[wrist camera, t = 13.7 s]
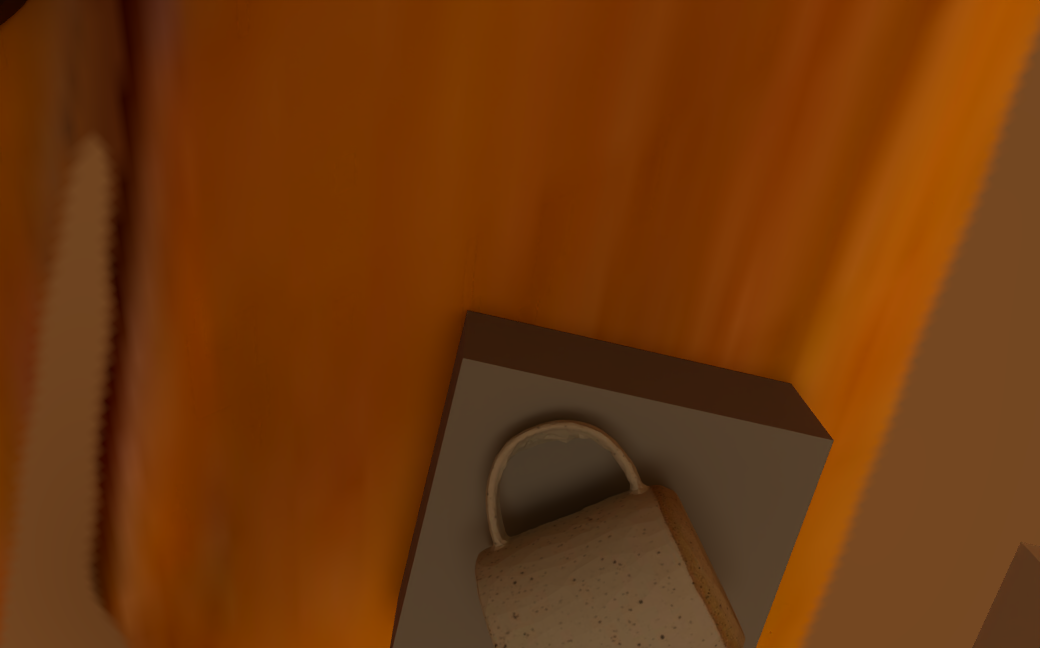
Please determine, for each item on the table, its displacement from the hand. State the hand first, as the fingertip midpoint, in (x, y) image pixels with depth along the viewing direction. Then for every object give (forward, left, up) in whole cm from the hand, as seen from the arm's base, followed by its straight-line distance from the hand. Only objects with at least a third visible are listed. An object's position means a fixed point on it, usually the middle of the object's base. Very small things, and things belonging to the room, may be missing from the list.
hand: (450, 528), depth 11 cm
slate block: (+9, -15, -32) cm, 36 cm away
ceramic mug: (+7, -14, -26) cm, 30 cm away
